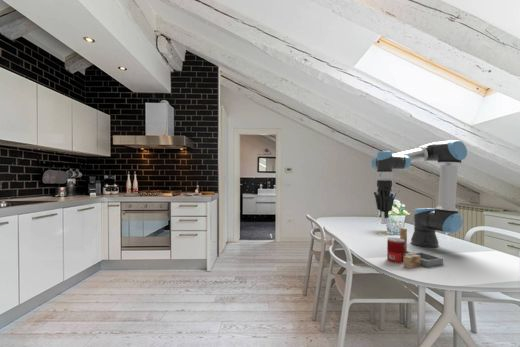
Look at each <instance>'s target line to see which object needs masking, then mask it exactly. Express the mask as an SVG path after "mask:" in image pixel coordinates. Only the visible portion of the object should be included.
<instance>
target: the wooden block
mask: <svg viewBox="0 0 520 347" xmlns="http://www.w3.org/2000/svg"><path fill="white" fill-rule="evenodd" d="M402 264H403V267H404V268H407V269H412V268H419V267H421V256H419V255H416V254H413V255H407V256H403V263H402Z"/></svg>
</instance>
